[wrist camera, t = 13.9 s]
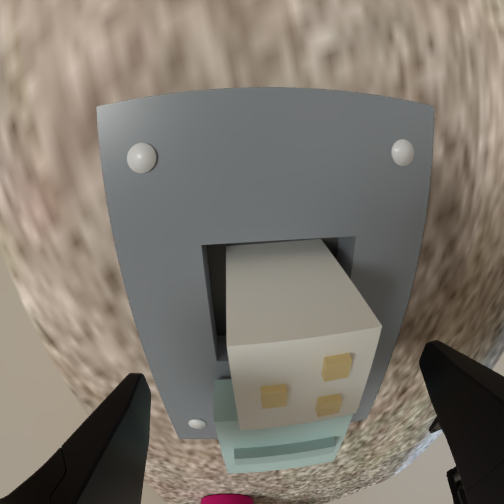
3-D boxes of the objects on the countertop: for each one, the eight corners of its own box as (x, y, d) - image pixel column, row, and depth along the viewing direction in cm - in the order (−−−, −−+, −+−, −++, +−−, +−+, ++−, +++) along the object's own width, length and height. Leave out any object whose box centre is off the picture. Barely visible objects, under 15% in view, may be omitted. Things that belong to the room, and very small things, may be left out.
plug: (320, 239, 13) (386, 333, 7) (316, 315, 14) (358, 419, 8) (226, 246, 12) (226, 354, 7) (234, 323, 14) (240, 437, 8)
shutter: (324, 429, 16) (335, 469, 13) (226, 440, 15) (228, 482, 12) (341, 366, 13) (361, 415, 10) (214, 379, 13) (213, 433, 10)
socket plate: (357, 397, 18) (366, 420, 16) (181, 414, 17) (178, 440, 15) (407, 105, 10) (435, 105, 9) (116, 108, 10) (95, 106, 8)
